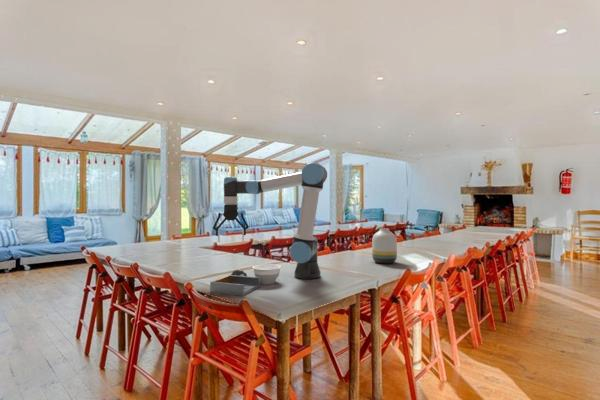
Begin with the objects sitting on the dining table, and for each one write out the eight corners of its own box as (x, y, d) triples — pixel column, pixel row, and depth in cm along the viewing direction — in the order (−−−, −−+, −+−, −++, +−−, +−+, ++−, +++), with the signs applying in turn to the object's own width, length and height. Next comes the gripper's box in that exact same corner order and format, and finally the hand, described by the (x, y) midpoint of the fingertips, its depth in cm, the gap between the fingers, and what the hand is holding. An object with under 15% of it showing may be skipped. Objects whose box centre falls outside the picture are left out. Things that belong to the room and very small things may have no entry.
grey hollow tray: (259, 287, 177) (259, 277, 177) (243, 295, 161) (243, 285, 161) (229, 284, 183) (229, 274, 183) (210, 292, 167) (210, 282, 167)
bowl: (256, 287, 177) (256, 270, 177) (248, 280, 191) (248, 265, 191) (285, 284, 183) (285, 268, 183) (275, 278, 198) (275, 263, 198)
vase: (372, 264, 238) (372, 229, 238) (371, 260, 254) (371, 227, 254) (398, 265, 235) (398, 229, 235) (395, 260, 252) (395, 227, 252)
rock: (228, 274, 192) (228, 267, 184) (242, 269, 195) (242, 262, 187) (235, 292, 187) (236, 285, 179) (249, 286, 190) (250, 279, 182)
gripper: (252, 203, 204) (252, 239, 204) (208, 204, 199) (209, 241, 199) (252, 204, 196) (253, 241, 196) (207, 204, 192) (207, 242, 192)
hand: (231, 241), depth 198 cm, fingers open, 13 cm apart
